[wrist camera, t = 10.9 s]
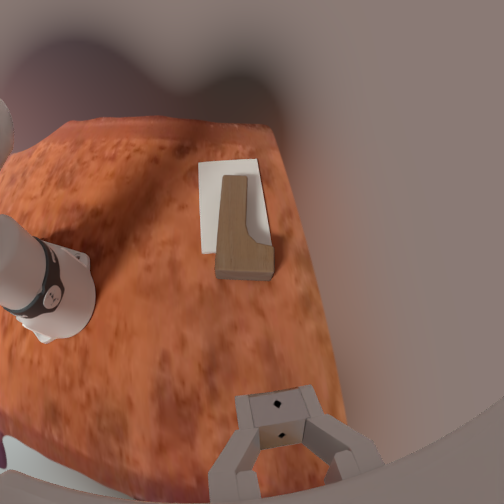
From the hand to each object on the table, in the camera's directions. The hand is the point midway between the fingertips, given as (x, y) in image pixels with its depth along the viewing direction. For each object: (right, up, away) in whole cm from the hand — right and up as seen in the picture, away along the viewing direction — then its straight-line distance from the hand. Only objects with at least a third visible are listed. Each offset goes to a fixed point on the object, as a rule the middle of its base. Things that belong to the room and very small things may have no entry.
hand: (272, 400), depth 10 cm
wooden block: (-2, +2, +35) cm, 35 cm away
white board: (-5, +15, +43) cm, 46 cm away
